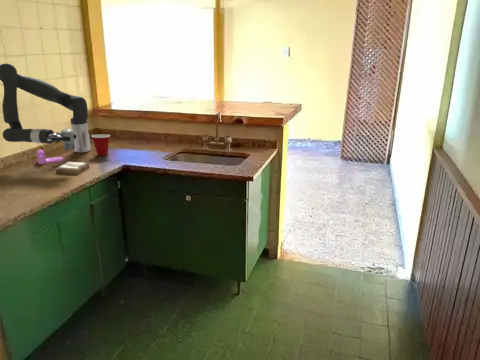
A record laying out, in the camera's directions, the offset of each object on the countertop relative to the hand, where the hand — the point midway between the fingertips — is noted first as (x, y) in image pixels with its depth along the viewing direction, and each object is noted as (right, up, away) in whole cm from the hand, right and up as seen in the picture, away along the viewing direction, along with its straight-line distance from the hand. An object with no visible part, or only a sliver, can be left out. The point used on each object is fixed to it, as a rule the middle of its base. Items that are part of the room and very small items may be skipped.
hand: (72, 137), depth 213 cm
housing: (-3, -6, +2) cm, 7 cm away
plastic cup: (+4, -7, +35) cm, 36 cm away
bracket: (-21, -12, +21) cm, 32 cm away
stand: (-2, -17, +6) cm, 18 cm away
